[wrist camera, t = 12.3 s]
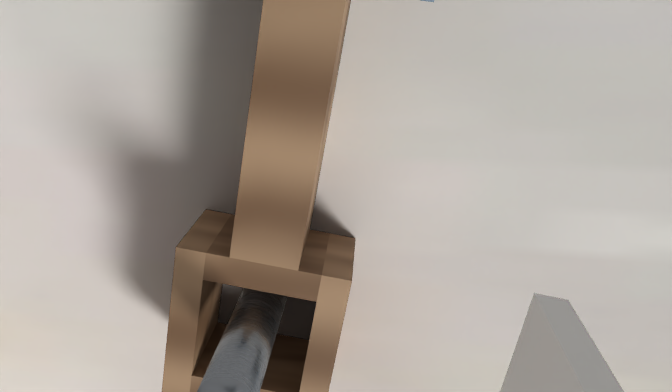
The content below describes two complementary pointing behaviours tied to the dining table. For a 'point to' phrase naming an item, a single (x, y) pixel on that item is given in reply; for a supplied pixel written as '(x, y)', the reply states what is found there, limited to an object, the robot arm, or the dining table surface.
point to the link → (272, 211)
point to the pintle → (245, 344)
